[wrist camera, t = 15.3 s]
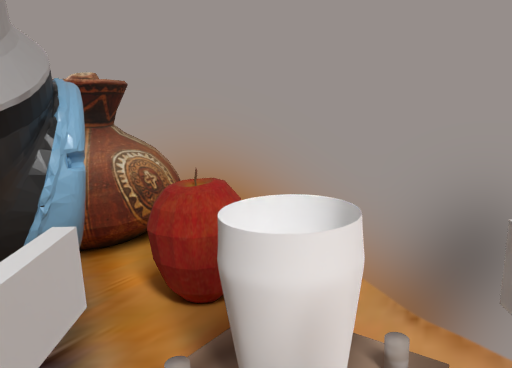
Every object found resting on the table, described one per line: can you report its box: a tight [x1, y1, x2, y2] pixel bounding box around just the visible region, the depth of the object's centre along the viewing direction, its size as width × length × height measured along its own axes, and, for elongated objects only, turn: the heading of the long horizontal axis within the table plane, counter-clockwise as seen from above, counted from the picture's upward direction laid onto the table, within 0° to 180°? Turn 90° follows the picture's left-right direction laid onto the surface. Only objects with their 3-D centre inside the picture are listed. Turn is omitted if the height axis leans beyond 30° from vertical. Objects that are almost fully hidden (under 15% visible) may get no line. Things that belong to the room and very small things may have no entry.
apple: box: [147, 169, 241, 303], centre depth 45 cm, size 10×10×14 cm
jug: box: [52, 73, 180, 251], centre depth 66 cm, size 30×30×25 cm
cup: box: [217, 194, 364, 368], centre depth 28 cm, size 9×9×12 cm
